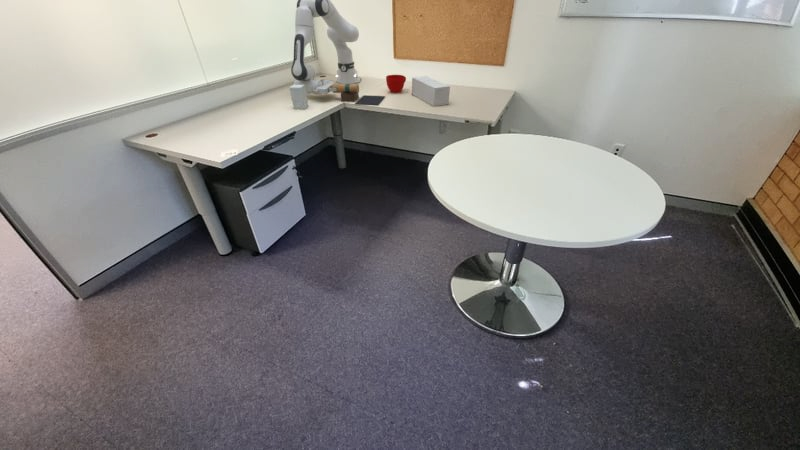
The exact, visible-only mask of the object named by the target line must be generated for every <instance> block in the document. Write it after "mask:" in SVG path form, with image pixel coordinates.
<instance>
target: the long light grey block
mask: <svg viewBox="0 0 800 450" xmlns="http://www.w3.org/2000/svg"><path fill="white" fill-rule="evenodd" d="M450 89H451V86H450V85H448V84H446V83H444V82H441V81H439V80H437V79H434V78H432V77H429V76H428V75H424V76H423V75H422V76H413V77H411V95H412V96H415V97H416V98H418V99H420V100H422V101H423V102H425V103H426V104H427V103H428V104H429V105H431V106H432V107H438V106H445V105H449V104H450V93H451V90H450Z"/></svg>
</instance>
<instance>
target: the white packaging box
mask: <svg viewBox="0 0 800 450" xmlns="http://www.w3.org/2000/svg"><path fill="white" fill-rule="evenodd" d="M289 92H290V93H289V94H290V97H291V102H292V107H293V109H294V110H305V109H307V107H309V102H308V94H306V90H305V85H294V84H292V85H290V86H289Z"/></svg>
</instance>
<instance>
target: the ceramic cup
mask: <svg viewBox="0 0 800 450" xmlns="http://www.w3.org/2000/svg"><path fill="white" fill-rule="evenodd" d="M385 81H386V86H387V88H388V90H389V91H390V92H391V93H392V94H399V93H401V91H402V90H403V88H404V86H405V83H406V81H407V77H406V76H405V75H403V74H388V75H386V76H385Z"/></svg>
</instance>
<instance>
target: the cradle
mask: <svg viewBox="0 0 800 450" xmlns="http://www.w3.org/2000/svg"><path fill="white" fill-rule="evenodd" d="M359 93H360V92H359ZM359 93H340V101H341V102H348V103H349V102H350V103H356V102H357V101H358V100H359V99H360V96H359Z"/></svg>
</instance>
